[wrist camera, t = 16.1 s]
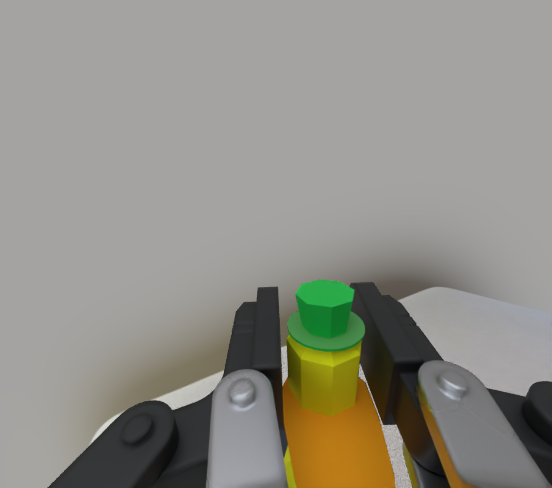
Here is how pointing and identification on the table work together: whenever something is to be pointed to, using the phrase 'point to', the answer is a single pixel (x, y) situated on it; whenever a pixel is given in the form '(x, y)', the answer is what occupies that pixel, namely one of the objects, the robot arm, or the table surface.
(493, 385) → the table surface
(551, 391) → the robot arm
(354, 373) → the toy figure
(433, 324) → the table surface
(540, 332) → the table surface
